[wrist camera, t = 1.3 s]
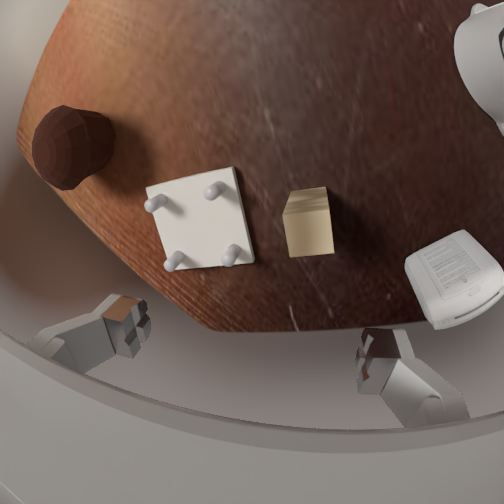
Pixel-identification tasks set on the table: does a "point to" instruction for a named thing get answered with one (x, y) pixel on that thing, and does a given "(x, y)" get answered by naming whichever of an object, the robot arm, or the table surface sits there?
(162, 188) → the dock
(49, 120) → the muffin
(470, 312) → the photo printer
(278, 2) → the table surface
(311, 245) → the block
